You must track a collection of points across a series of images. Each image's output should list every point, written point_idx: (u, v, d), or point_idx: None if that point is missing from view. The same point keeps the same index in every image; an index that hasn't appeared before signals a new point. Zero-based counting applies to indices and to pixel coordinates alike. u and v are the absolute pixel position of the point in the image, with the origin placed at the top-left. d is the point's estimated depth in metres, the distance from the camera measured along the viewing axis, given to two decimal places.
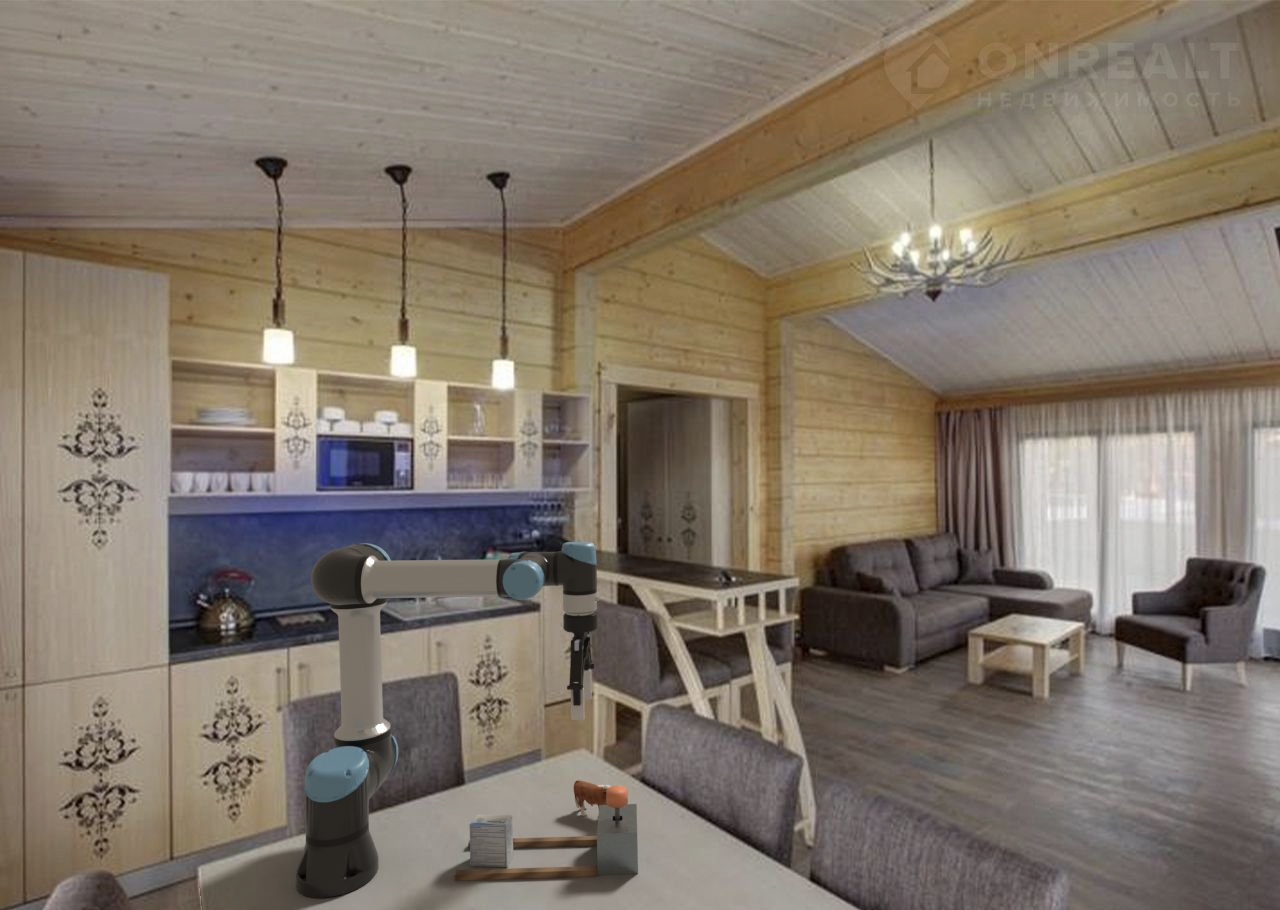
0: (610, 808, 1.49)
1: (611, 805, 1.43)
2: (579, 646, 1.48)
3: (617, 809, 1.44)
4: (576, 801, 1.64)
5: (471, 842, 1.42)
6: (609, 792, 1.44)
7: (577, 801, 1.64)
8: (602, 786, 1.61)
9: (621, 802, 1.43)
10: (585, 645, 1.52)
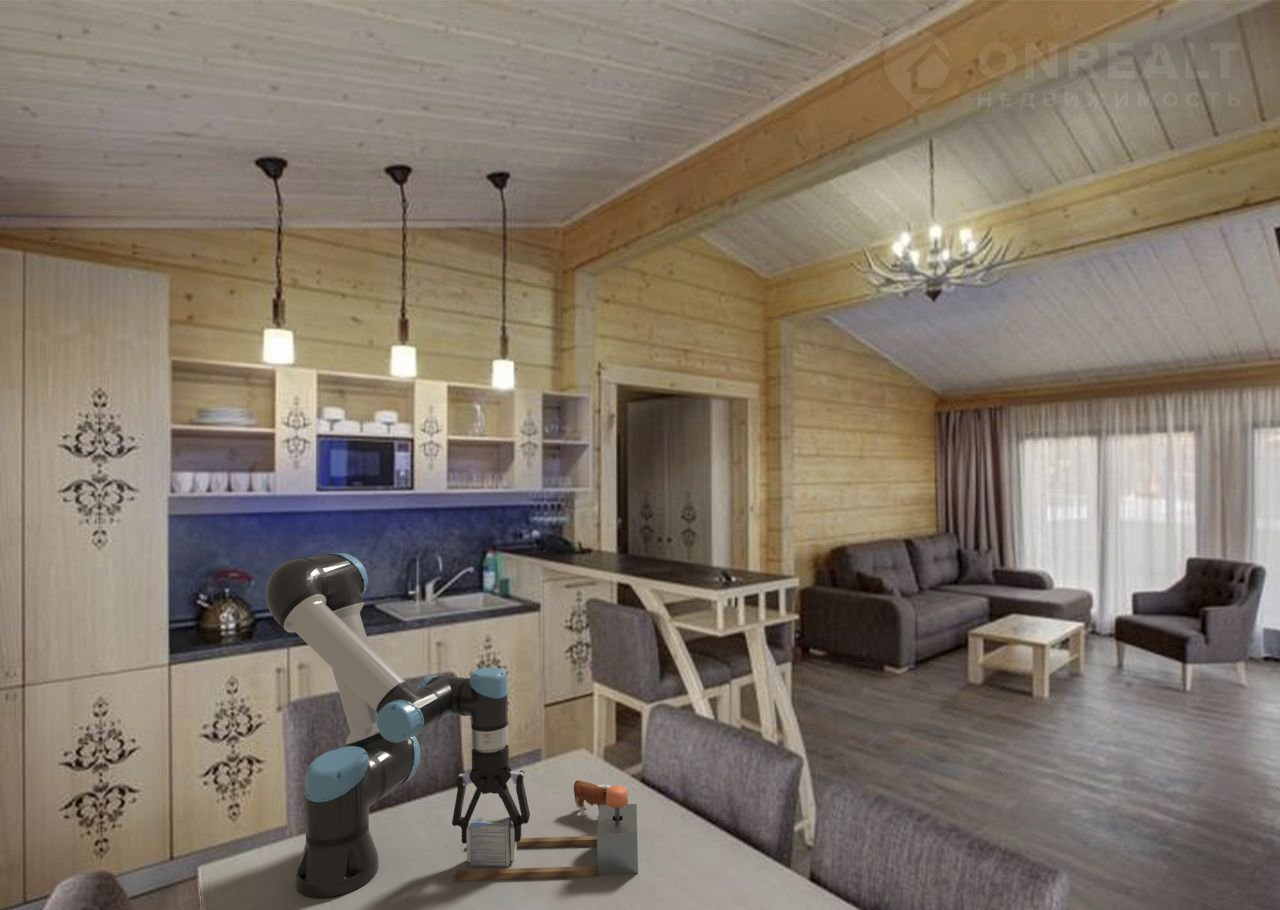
0: (610, 808, 1.49)
1: (611, 805, 1.43)
2: None
3: (617, 809, 1.44)
4: (576, 801, 1.64)
5: (471, 842, 1.42)
6: (609, 792, 1.44)
7: (577, 801, 1.64)
8: (602, 786, 1.61)
9: (621, 802, 1.43)
10: None
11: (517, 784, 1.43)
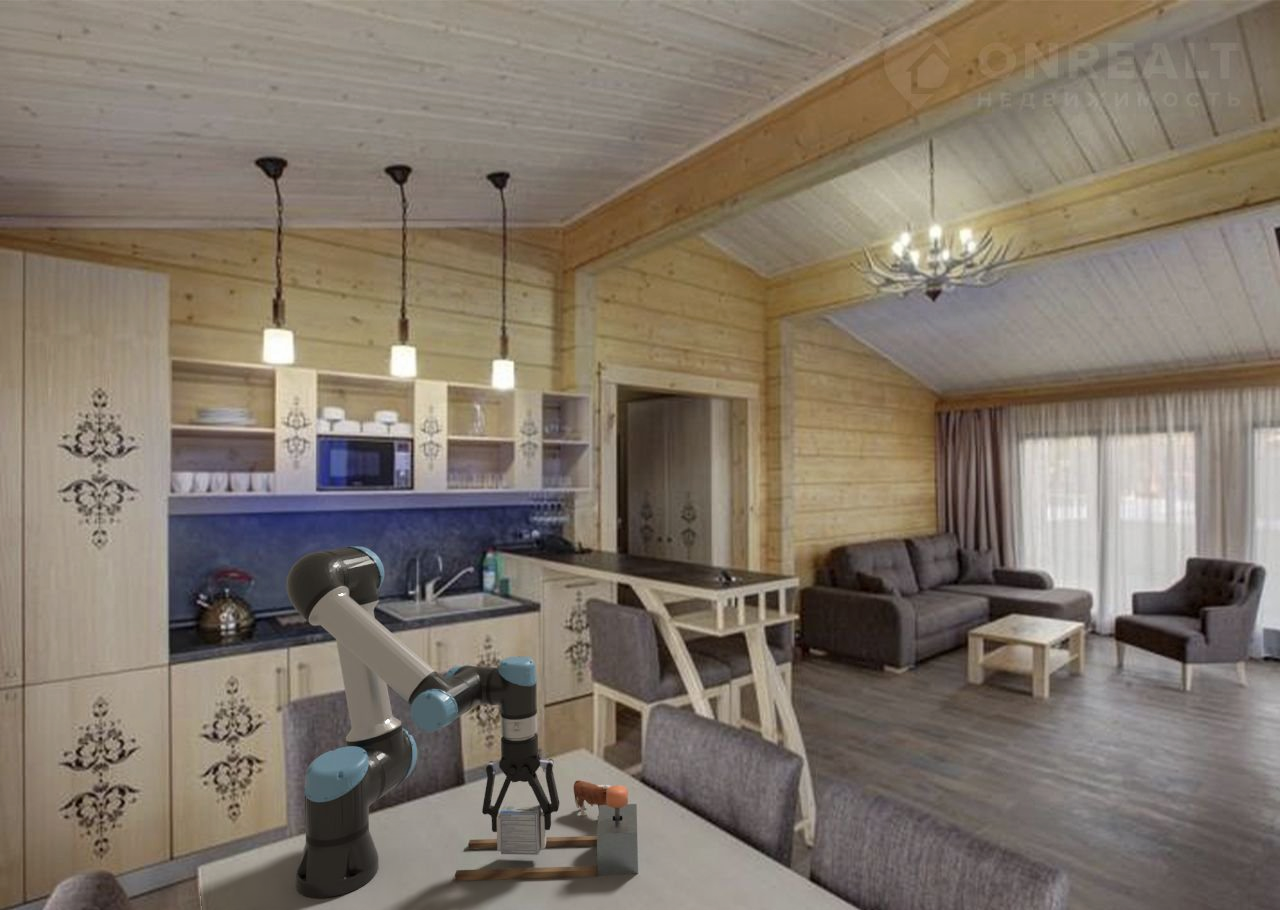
0: (610, 808, 1.49)
1: (611, 805, 1.43)
2: None
3: (617, 809, 1.44)
4: (576, 801, 1.64)
5: (501, 830, 1.42)
6: (609, 792, 1.44)
7: (577, 801, 1.64)
8: (602, 786, 1.61)
9: (621, 802, 1.43)
10: None
11: (547, 772, 1.43)
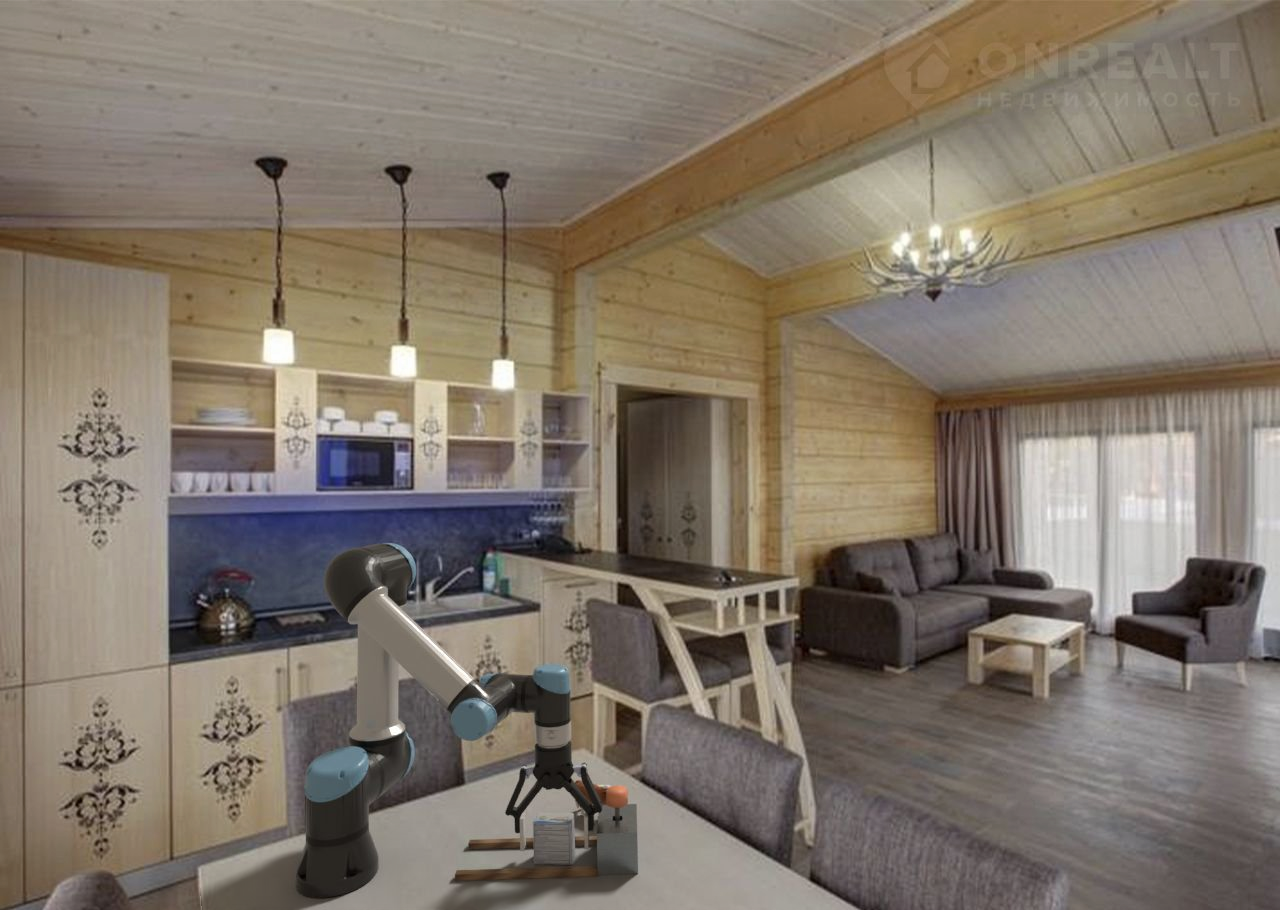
0: (610, 808, 1.49)
1: (611, 805, 1.43)
2: None
3: (617, 809, 1.44)
4: (576, 801, 1.64)
5: (535, 840, 1.42)
6: (609, 792, 1.44)
7: None
8: (602, 786, 1.61)
9: (621, 802, 1.43)
10: (541, 778, 1.43)
11: (582, 776, 1.43)
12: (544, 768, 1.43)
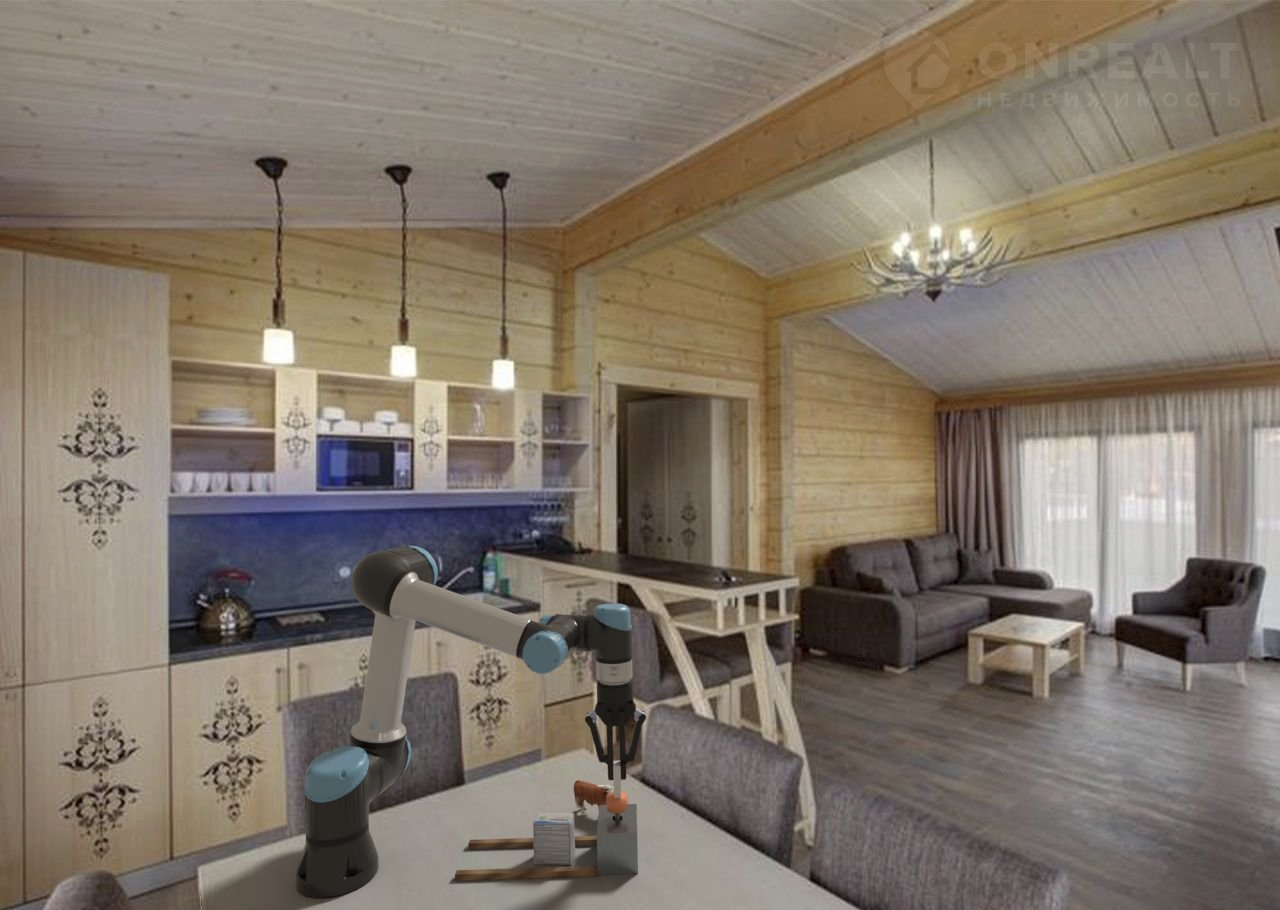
0: None
1: (611, 811, 1.43)
2: None
3: (617, 815, 1.44)
4: (576, 801, 1.64)
5: (535, 840, 1.42)
6: (609, 798, 1.44)
7: (577, 801, 1.64)
8: (602, 786, 1.61)
9: (621, 808, 1.43)
10: None
11: (638, 722, 1.44)
12: (602, 703, 1.44)
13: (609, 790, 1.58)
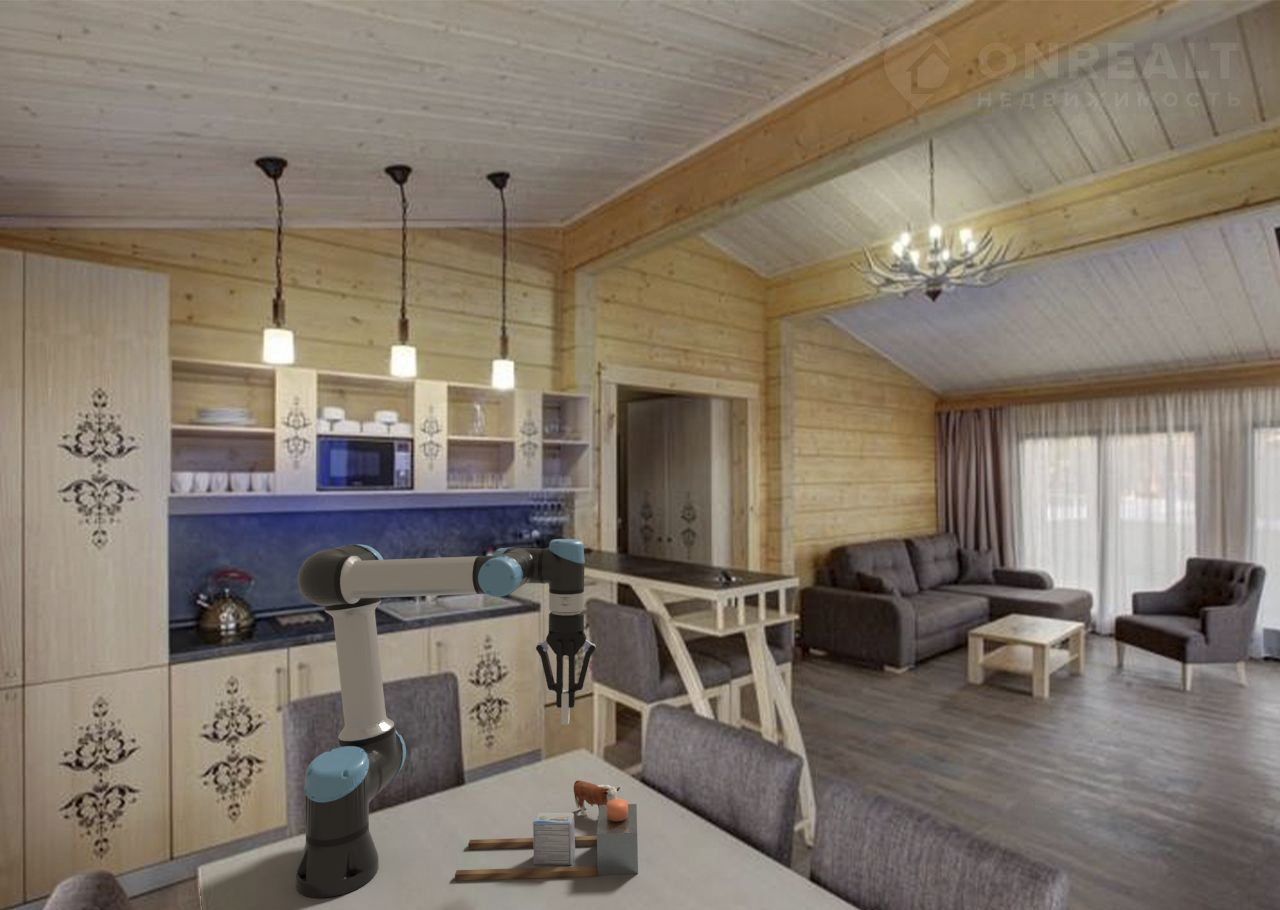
0: None
1: (611, 818, 1.43)
2: None
3: None
4: (576, 801, 1.64)
5: (535, 840, 1.42)
6: (609, 805, 1.44)
7: (577, 801, 1.64)
8: (602, 786, 1.61)
9: (621, 816, 1.43)
10: None
11: (587, 652, 1.49)
12: (553, 632, 1.49)
13: (609, 790, 1.58)
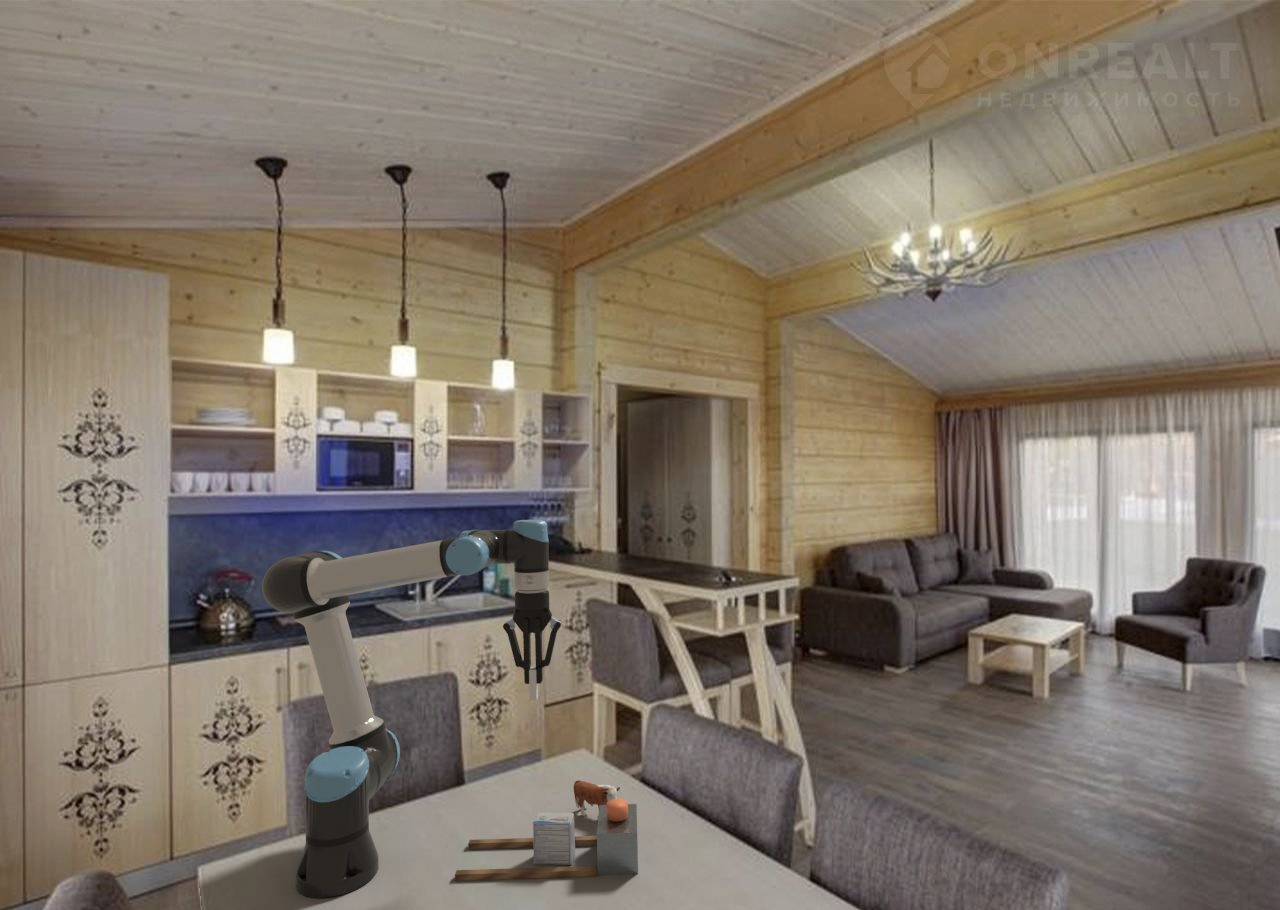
0: None
1: (611, 818, 1.43)
2: None
3: None
4: (576, 801, 1.64)
5: (535, 840, 1.42)
6: (609, 805, 1.44)
7: (577, 801, 1.64)
8: (602, 786, 1.61)
9: (621, 816, 1.43)
10: None
11: (553, 629, 1.53)
12: (519, 611, 1.53)
13: (609, 790, 1.58)
